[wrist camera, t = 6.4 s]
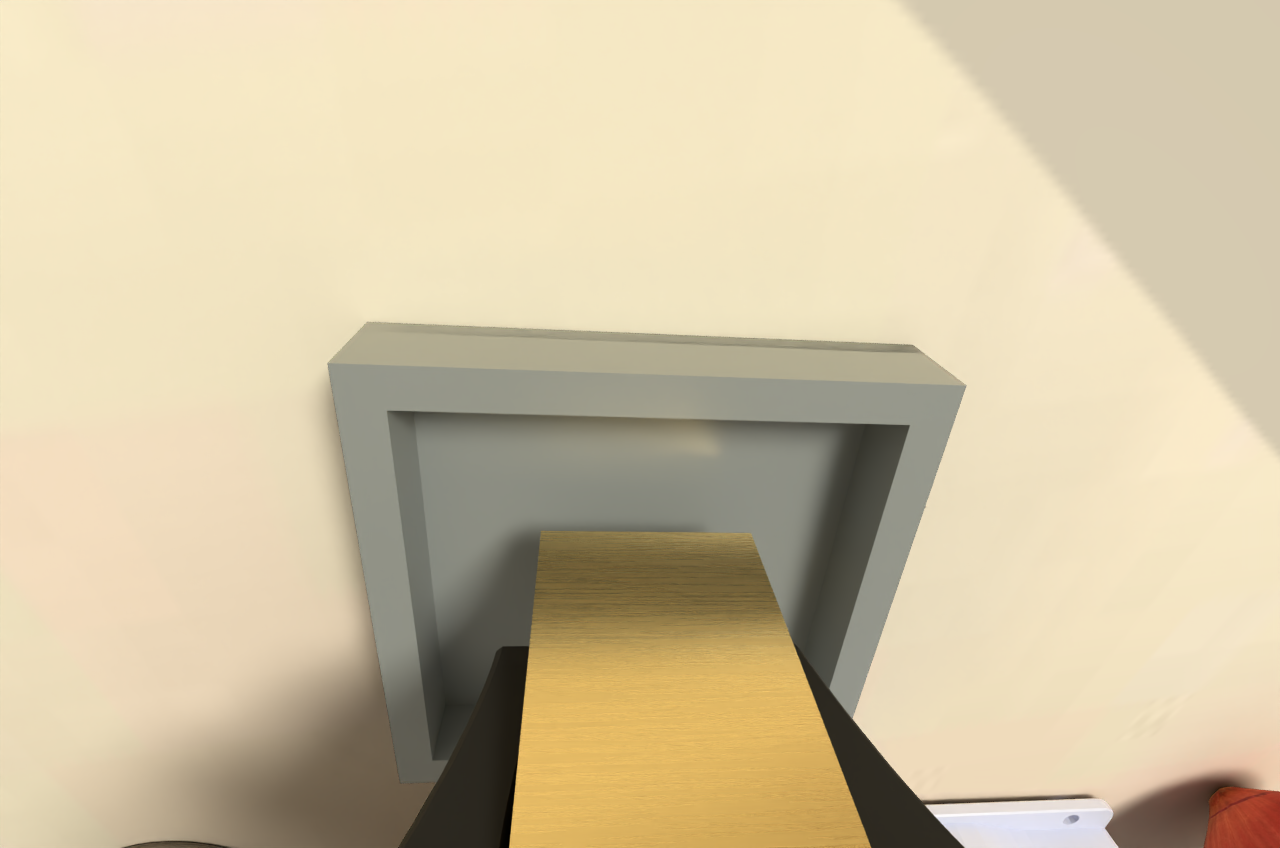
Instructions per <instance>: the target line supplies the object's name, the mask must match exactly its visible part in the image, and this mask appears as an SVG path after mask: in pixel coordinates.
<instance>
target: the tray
mask: <svg viewBox="0 0 1280 848" xmlns="http://www.w3.org/2000/svg"><path fill="white" fill-rule="evenodd" d="M328 369H329V375H330V380H331V386H332V392H333V398H334V404H335V409H336V415H337V421H338V427H339V433H340V438H341V444H342V450H343V456H344V461H345V467H346V473H347V479H348V485H349V490H350V496H351V502H352V508H353V514H354V519H355V525H356V531H357V537H358V543H359V548H360V554H361V560H362V566H363V572H364V577H365V583H366V589H367V595H368V601H369V606H370V612H371V618H372V624H373V630H374V635H375V641H376V647H377V653H378V659H379V664H380V670H381V676H382V682H383V688H384V693H385V699H386V705H387V711H388V716H389V722H390V728H391V734H392V740H393V745H394V751H395V757H396V763H397V769H398V774H399V780H400V783H430V782H437V781H438V779H439V777H440V776H441V774H442V772H443V770H444V768H445V766H446V764H447V763H448V761H449V759H450V757H451V755H452V753H453V751H454V749H455V747H456V745H457V743H458V741H459V739H460V737H461V735H462V733H463V731H464V729H465V727H466V725H467V723H468V721H469V719H470V716H471V714H472V712H473V710H474V708H475V705H476V703H477V701H478V699H479V696H480V694H481V692H482V689H483V687H484V685H485V682H486V680H487V677H488V674H489V672H490V669H491V666H492V663H493V660H494V657H495V653H496V651H497V650H498V649H500V648H501V647H502V646H530V636H531V626H532V616H533V606H534V596H535V586H536V576H537V566H538V556H539V546H540V536H541V531H617V532H714V533H751V534H752V537H753V540H754V542H755V545H756V547H757V550H758V553H759V555H760V558H761V561H762V563H763V566H764V568H765V571H766V574H767V576H768V579H769V581H770V584H771V587H772V589H773V592H774V595H775V597H776V600H777V602H778V605H779V608H780V610H781V613H782V615H783V618H784V621H785V623H786V626H787V629H788V631H789V634H790V636H791V639H792V642H793V643H795V644H796V645H797V646H798V647H799V649H800V650H801V651H802V653H803V654H804V655H805V657H806V658H807V660H808V661H809V662H810V664H811V665H812V666H813V668H814V669H815V670H816V672H817V673H818V674H819V676H820V677H821V679H822V680H823V681H824V683H825V684H826V685H827V687H828V688H829V689H830V691H831V692H832V693H833V695H834V696H835V697H836V698H837V700H838V701H839V702H840V704H841V705H842V706H843V708H844V709H845V710H846V712H847V713H848V714H849V715H850V717H851V718H853V715H854V712H855V709H856V707H857V704H858V701H859V698H860V695H861V692H862V689H863V686H864V683H865V680H866V677H867V674H868V671H869V669H870V666H871V663H872V660H873V657H874V654H875V651H876V648H877V645H878V642H879V639H880V636H881V634H882V631H883V628H884V625H885V622H886V619H887V616H888V613H889V610H890V607H891V604H892V601H893V599H894V596H895V593H896V590H897V587H898V584H899V581H900V578H901V575H902V572H903V569H904V566H905V564H906V561H907V558H908V555H909V552H910V549H911V546H912V543H913V540H914V537H915V534H916V531H917V528H918V526H919V523H920V520H921V517H922V514H923V511H924V508H925V505H926V502H927V499H928V496H929V493H930V491H931V488H932V485H933V482H934V479H935V476H936V473H937V470H938V467H939V464H940V461H941V458H942V456H943V453H944V450H945V447H946V444H947V441H948V438H949V435H950V432H951V429H952V426H953V423H954V421H955V418H956V415H957V412H958V409H959V406H960V403H961V400H962V397H963V394H964V391H965V388H966V385H965V384H964V383H962V382H961V381H960V380H958V379H957V378H956V377H955V376H953V375H952V374H951V373H949V372H948V371H947V370H945V369H944V368H943V367H941V366H940V365H939V364H937V363H936V362H935V361H933V360H932V359H931V358H929V357H928V356H927V355H925V354H924V353H923V352H921V351H920V350H919V349H917V348H916V347H915V346H913V345H902V344H878V343H854V342H830V341H806V340H782V339H759V338H735V337H711V336H687V335H663V334H639V333H615V332H591V331H567V330H543V329H519V328H496V327H472V326H448V325H424V324H400V323H376V322H367V323H366V324H365V325H364V326H363V327H362V328H361V329H360V330H359V331H358V332H357V333H356V334H355V335H354V336H353V337H352V338H351V339H350V340H349V341H348V342H347V344H346V345H345V346H344V347H343V348H342V349H341V350H340V351H339V352H338V353H337V354H336V355H335V356H334V357H333V358H332V359H331V360H330V361H329V362H328Z"/></svg>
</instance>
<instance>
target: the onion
mask: <svg viewBox="0 0 1280 848" xmlns="http://www.w3.org/2000/svg"><path fill="white" fill-rule="evenodd" d="M1203 848H1280V792H1279V791H1269V790H1258V789H1248V788H1240V787H1235V786H1234V787H1224V788H1220V789H1219V790H1218V791H1216V792H1215V793H1214V794H1213V795H1212V796H1211V798H1210V800H1209V822H1208V829H1207V834H1206V838H1205V843H1204V847H1203Z"/></svg>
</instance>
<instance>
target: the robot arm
mask: <svg viewBox="0 0 1280 848" xmlns="http://www.w3.org/2000/svg"><path fill="white" fill-rule="evenodd" d="M793 644H794V647H795V650H796V652H797V655H798V657H799V660H800V663H801V665H802V668H803V670H804V673H805V676H806V678H807V681H808V684H809V686H810V689H811V691H812V694H813V697H814V699H815V702H816V704H817V707H818V710H819V712H820V715H821V718H822V720H823V723H824V725H825V728H826V731H827V733H828V736H829V738H830V741H831V744H832V746H833V749H834V752H835V754H836V757H837V759H838V762H839V765H840V767H841V770H842V773H843V775H844V778H845V780H846V783H847V786H848V788H849V791H850V793H851V796H852V799H853V801H854V804H855V807H856V809H857V812H858V814H859V817H860V820H861V822H862V825H863V827H864V830H865V833H866V835H867V838H868V841H869V843H870V846H871V848H1118V846H1117V845H1116V843H1115V842H1114V841H1113V839H1112V838H1111V836H1110V835H1109V833H1108V832H1107V831H1106V829H1104V828H1105V827H1106V826H1107V824H1108V823H1109V821H1110V820H1111V819H1112V816H1113V810H1112V809H1111V808H1110V806H1109V805H1108V803H1107V802H1106V801H1105V800H1103V799H1099V798H1088V799H1062V800H1036V801H1010V802H983V803H957V804H931V805H924V804H923V802H922V801H921V800H920V799H919V798H918V797H917V796H916V795H915V793H914V792H913V791H912V790H911V789H910V788H909V787H908V786H907V785H906V783H905V782H904V781H903V780H902V779H901V778H900V776H899V775H898V774H897V773H896V772H895V771H894V769H893V768H892V767H891V766H890V765H889V764H888V762H887V761H886V760H885V759H884V757H883V756H882V755H881V754H880V753H879V751H878V750H877V749H876V748H875V746H874V745H873V744H872V743H871V742H870V740H869V739H868V738H867V737H866V735H865V734H864V733H863V732H862V731H861V729H860V728H859V727H858V726H857V724H856V723H855V722H854V720H853V719H852V718H851V717H850V715H849V714H848V713H847V712H846V710H845V709H844V708H843V706H842V705H841V704H840V702H839V701H838V700H837V698H836V697H835V696H834V695H833V693H832V692H831V691H830V689H829V688H828V687H827V685H826V684H825V683H824V681H823V680H822V679H821V677H820V676H819V674H818V673H817V672H816V670H815V669H814V668H813V666H812V665H811V664H810V662H809V661H808V660H807V658H806V657H805V655H804V654H803V653H802V651H801V650H800V649H799V647H798V646H797V645H796V644H795V643H793ZM528 656H529V646H502V647H501V648H500V649H498V650H497V651H496V653H495V657H494V660H493V663H492V666H491V669H490V672H489V674H488V677H487V680H486V682H485V685H484V687H483V689H482V692H481V694H480V696H479V699H478V701H477V703H476V705H475V708H474V710H473V712H472V714H471V716H470V719H469V721H468V723H467V725H466V727H465V729H464V731H463V733H462V735H461V737H460V739H459V741H458V743H457V745H456V747H455V749H454V751H453V753H452V755H451V757H450V759H449V761H448V763H447V764H446V766H445V768H444V770H443V772H442V774H441V776H440V777H439V779H438V781H437V783H436V784H435V786H434V788H433V790H432V791H431V793H430V795H429V796H428V798H427V800H426V802H425V803H424V805H423V807H422V809H421V810H420V812H419V814H418V816H417V817H416V819H415V821H414V823H413V824H412V826H411V828H410V829H409V831H408V833H407V834H406V836H405V837H404V839H403V841H402V842H401V844H400V846H399V847H398V848H509V845H510V835H511V825H512V815H513V805H514V795H515V785H516V775H517V765H518V755H519V745H520V735H521V725H522V715H523V705H524V696H525V686H526V676H527V666H528Z"/></svg>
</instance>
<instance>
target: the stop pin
mask: <svg viewBox="0 0 1280 848" xmlns="http://www.w3.org/2000/svg"><path fill="white" fill-rule="evenodd" d="M509 848H871V846H870V843H869V841H868V838H867V835H866V833H865V830H864V827H863V825H862V822H861V820H860V817H859V814H858V812H857V809H856V807H855V804H854V801H853V799H852V796H851V793H850V791H849V788H848V786H847V783H846V780H845V778H844V775H843V773H842V770H841V767H840V765H839V762H838V759H837V757H836V754H835V752H834V749H833V746H832V744H831V741H830V738H829V736H828V733H827V731H826V728H825V725H824V723H823V720H822V718H821V715H820V712H819V710H818V707H817V704H816V702H815V699H814V697H813V694H812V691H811V689H810V686H809V684H808V681H807V678H806V676H805V673H804V670H803V668H802V665H801V663H800V660H799V657H798V655H797V652H796V650H795V647H794V644H793V642H792V639H791V636H790V634H789V631H788V629H787V626H786V623H785V621H784V618H783V615H782V613H781V610H780V608H779V605H778V602H777V600H776V597H775V595H774V592H773V589H772V587H771V584H770V581H769V579H768V576H767V574H766V571H765V568H764V566H763V563H762V561H761V558H760V555H759V553H758V550H757V547H756V545H755V542H754V540H753V537H752V534H751V533H714V532H617V531H541V536H540V546H539V556H538V566H537V576H536V586H535V596H534V606H533V616H532V626H531V636H530V646H529V656H528V666H527V676H526V686H525V696H524V705H523V715H522V725H521V735H520V745H519V755H518V765H517V775H516V785H515V795H514V805H513V815H512V825H511V835H510V845H509Z"/></svg>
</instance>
